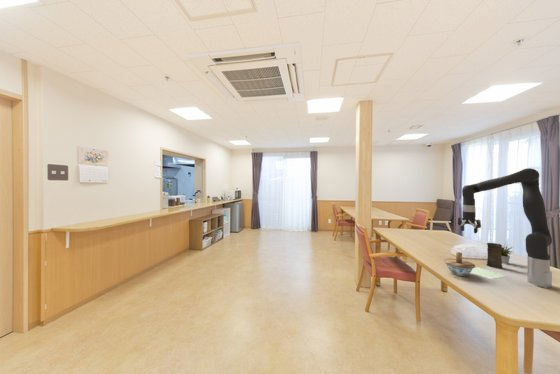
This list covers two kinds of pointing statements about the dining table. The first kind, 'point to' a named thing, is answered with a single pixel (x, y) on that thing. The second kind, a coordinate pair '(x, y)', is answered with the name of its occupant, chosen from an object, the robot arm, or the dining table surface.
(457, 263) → the lid
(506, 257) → the house plant
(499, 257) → the container
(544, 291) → the dining table surface
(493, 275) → the mat
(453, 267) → the chinaware
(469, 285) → the dining table surface
